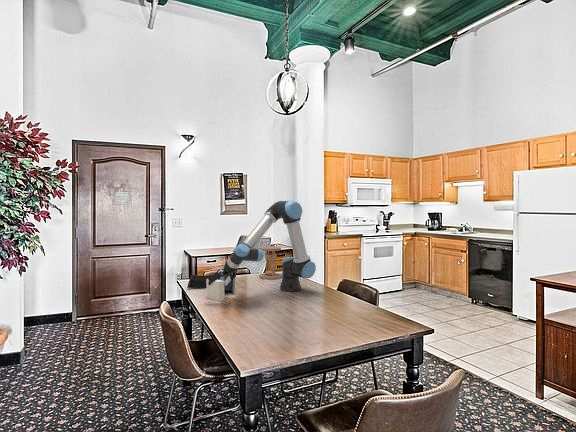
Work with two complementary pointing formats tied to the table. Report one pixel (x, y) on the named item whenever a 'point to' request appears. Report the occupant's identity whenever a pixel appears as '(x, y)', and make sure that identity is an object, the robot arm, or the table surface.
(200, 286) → the magazine
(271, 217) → the robot arm
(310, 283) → the table surface
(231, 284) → the housing
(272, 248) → the hourglass
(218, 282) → the tile
